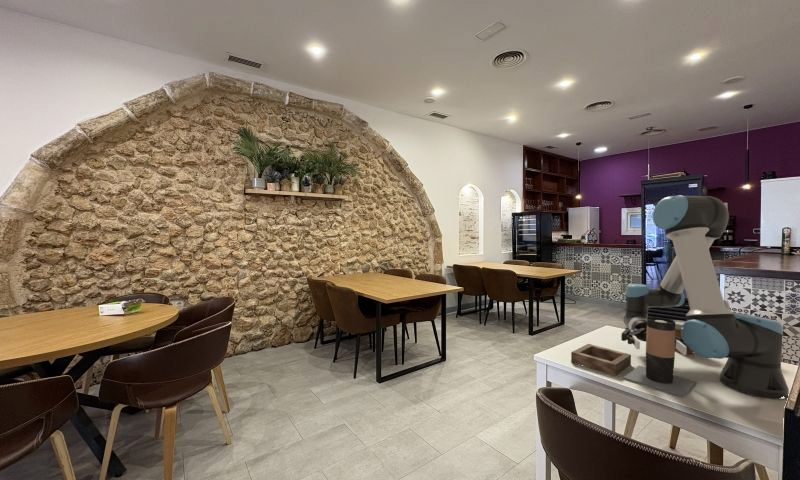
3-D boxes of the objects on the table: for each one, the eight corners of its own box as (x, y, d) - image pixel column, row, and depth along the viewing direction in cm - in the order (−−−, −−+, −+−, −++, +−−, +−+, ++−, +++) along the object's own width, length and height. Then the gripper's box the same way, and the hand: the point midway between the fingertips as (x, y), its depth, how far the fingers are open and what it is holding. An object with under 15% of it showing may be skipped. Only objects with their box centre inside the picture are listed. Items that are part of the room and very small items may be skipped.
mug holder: (630, 365, 125) (631, 354, 124) (615, 376, 115) (615, 364, 115) (588, 353, 136) (588, 343, 136) (571, 362, 127) (571, 352, 127)
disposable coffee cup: (695, 350, 140) (696, 322, 140) (700, 357, 132) (701, 327, 132) (666, 346, 145) (667, 318, 145) (670, 352, 137) (671, 324, 137)
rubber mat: (696, 382, 110) (696, 381, 110) (683, 397, 100) (683, 395, 100) (639, 367, 123) (639, 365, 123) (623, 379, 113) (623, 377, 113)
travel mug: (679, 385, 107) (681, 324, 107) (652, 383, 109) (654, 322, 108) (665, 375, 115) (667, 317, 114) (640, 373, 116) (642, 316, 116)
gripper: (681, 343, 124) (707, 365, 104) (606, 334, 133) (617, 353, 113) (681, 323, 123) (708, 341, 103) (606, 316, 133) (618, 331, 113)
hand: (661, 348), depth 108 cm, fingers open, 12 cm apart
